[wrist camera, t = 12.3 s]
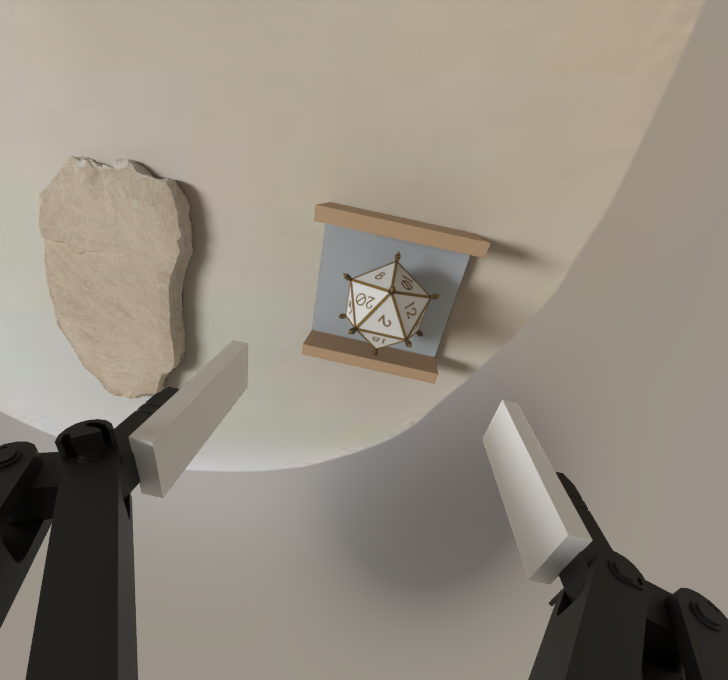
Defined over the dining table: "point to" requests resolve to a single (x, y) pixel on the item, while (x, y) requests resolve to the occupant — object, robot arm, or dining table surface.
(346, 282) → the track
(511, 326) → the dining table surface
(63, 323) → the stone tablet
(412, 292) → the game die
